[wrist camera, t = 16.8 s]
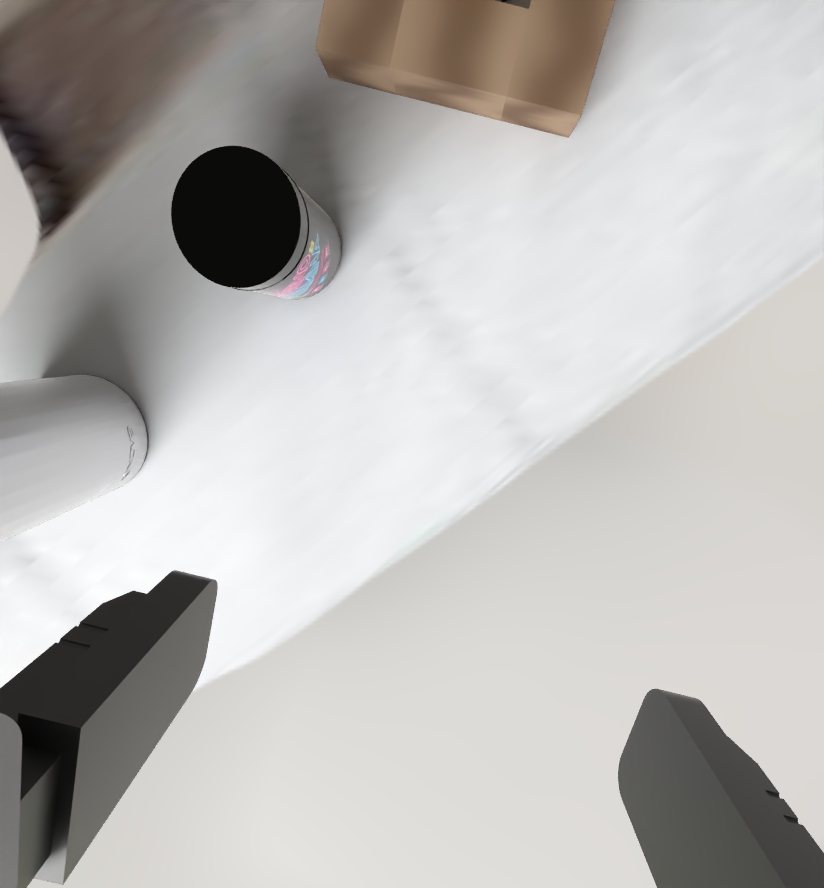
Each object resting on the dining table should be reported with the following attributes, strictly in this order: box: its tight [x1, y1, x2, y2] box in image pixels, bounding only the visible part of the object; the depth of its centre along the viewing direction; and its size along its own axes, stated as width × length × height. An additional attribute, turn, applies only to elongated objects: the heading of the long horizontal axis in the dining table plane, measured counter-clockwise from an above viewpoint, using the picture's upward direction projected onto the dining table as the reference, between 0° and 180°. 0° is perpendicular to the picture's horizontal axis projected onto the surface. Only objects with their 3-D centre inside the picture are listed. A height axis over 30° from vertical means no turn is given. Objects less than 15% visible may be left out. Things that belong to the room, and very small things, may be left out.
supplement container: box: [171, 146, 341, 299], centre depth 31 cm, size 7×7×10 cm
